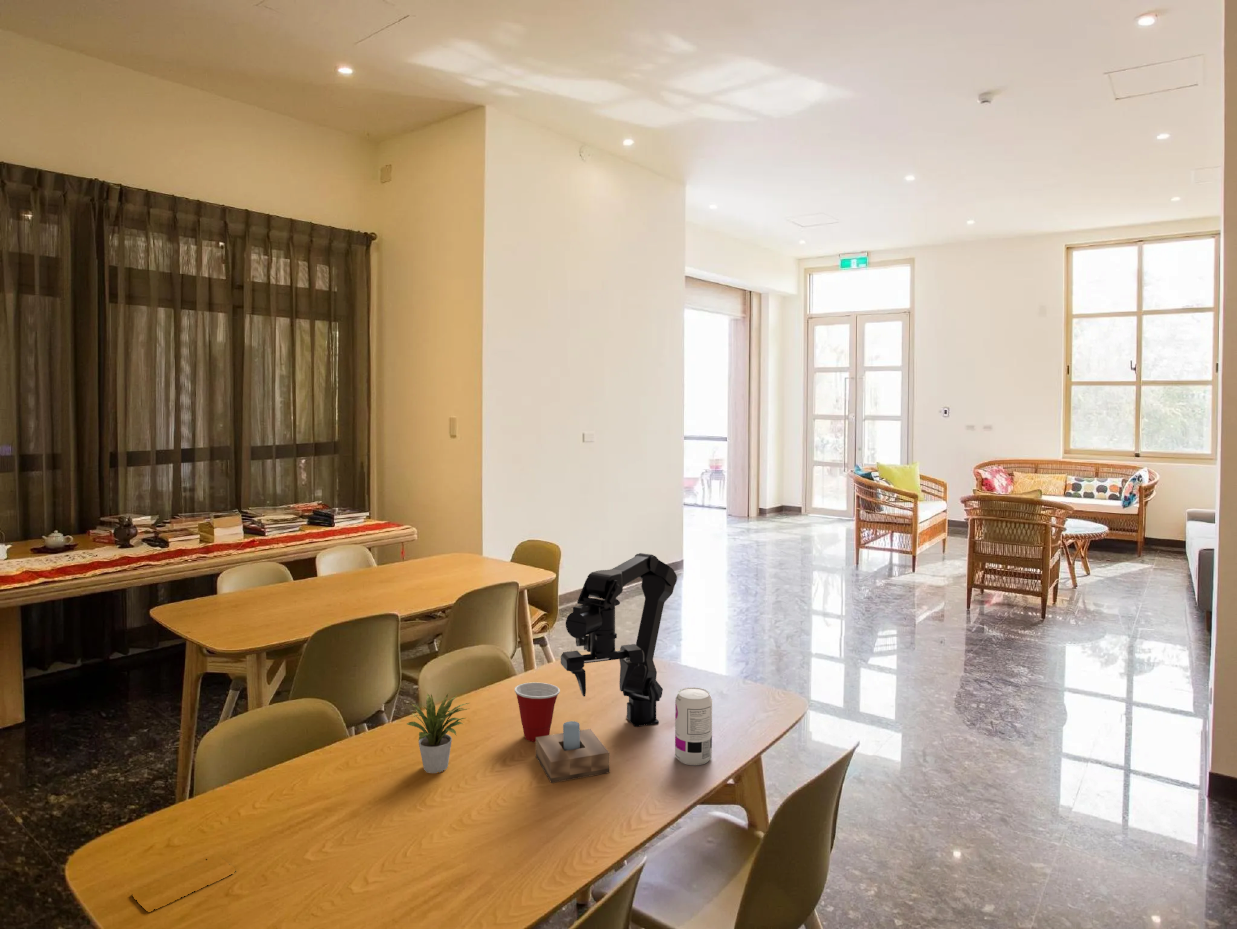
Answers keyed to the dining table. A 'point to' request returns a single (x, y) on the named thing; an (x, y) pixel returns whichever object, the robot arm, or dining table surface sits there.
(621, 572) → the robot arm
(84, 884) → the dining table surface
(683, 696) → the supplement can
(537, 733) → the plastic cup
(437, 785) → the dining table surface
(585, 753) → the bore block
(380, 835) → the dining table surface
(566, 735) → the pin
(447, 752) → the house plant
